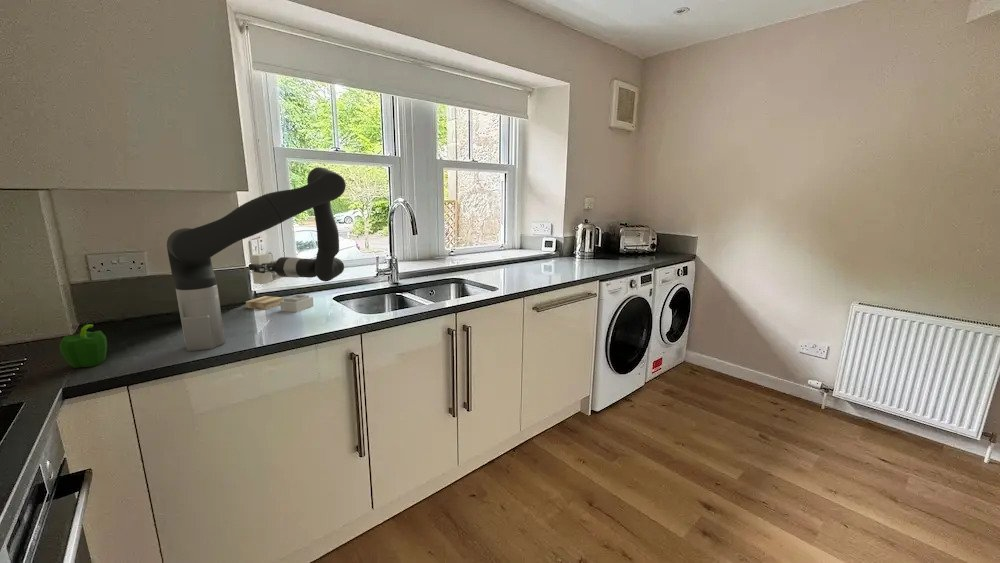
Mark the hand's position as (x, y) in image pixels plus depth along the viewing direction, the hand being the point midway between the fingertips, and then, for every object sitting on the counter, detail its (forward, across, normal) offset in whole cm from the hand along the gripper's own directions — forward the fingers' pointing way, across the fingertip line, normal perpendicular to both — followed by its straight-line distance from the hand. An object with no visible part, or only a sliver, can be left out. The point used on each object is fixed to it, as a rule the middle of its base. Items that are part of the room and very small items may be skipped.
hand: (255, 265), depth 152 cm
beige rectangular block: (-17, 0, +16) cm, 24 cm away
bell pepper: (-5, +58, +16) cm, 60 cm away
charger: (-3, 0, +6) cm, 7 cm away
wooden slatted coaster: (-2, 0, +16) cm, 16 cm away
